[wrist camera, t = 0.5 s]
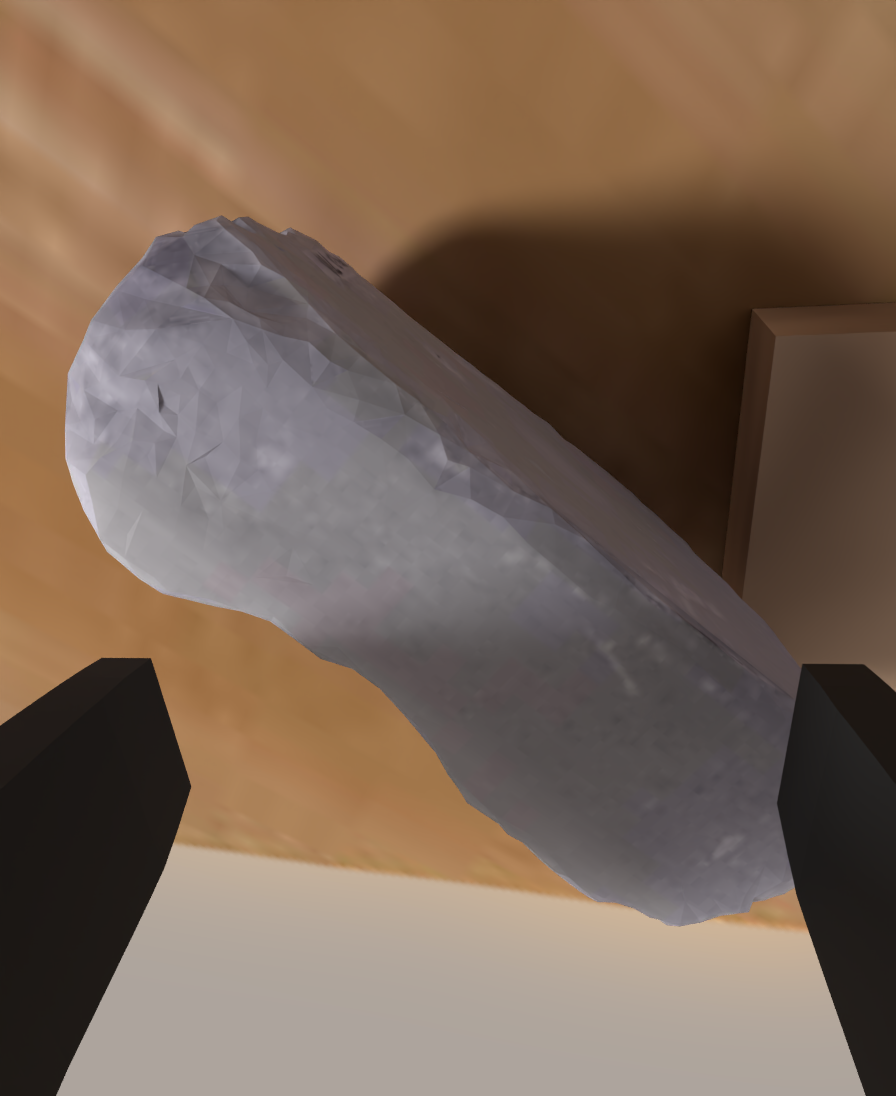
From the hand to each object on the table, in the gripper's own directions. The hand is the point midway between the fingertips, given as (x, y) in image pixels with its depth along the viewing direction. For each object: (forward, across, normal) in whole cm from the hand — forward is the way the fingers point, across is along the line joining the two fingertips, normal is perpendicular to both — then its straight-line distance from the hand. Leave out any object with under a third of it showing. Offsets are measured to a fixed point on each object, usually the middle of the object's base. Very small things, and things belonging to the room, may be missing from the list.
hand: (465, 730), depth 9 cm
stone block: (+10, 0, 0) cm, 10 cm away
